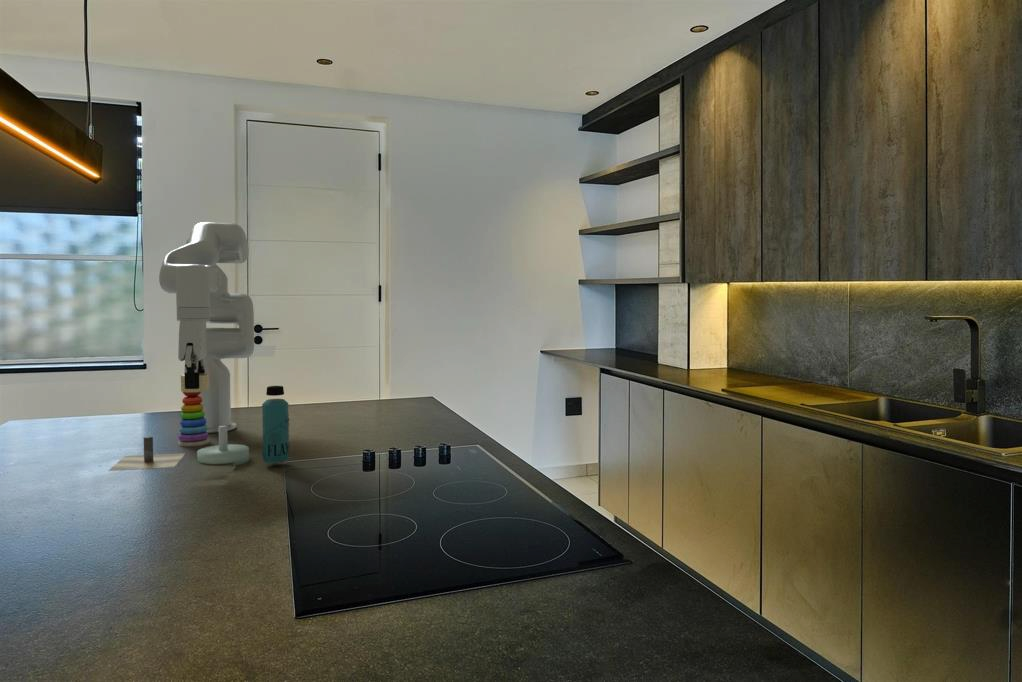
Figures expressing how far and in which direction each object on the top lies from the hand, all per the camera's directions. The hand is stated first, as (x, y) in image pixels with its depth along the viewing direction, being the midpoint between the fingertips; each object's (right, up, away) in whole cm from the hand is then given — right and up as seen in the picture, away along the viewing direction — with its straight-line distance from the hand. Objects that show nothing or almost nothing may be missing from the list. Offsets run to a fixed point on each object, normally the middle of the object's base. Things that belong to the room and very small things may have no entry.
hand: (195, 386), depth 163 cm
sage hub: (+6, -19, +3) cm, 20 cm away
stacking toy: (-9, -18, +19) cm, 28 cm away
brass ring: (0, -1, 0) cm, 1 cm away
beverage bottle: (+20, -20, 0) cm, 28 cm away
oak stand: (-11, -19, -2) cm, 22 cm away
